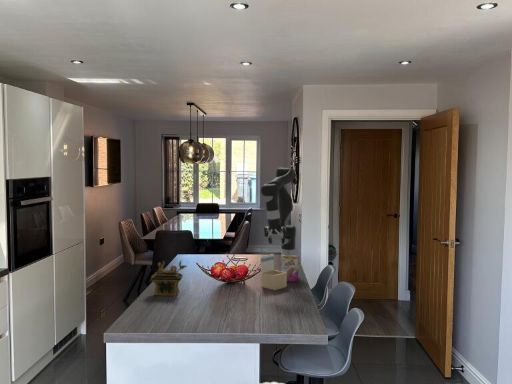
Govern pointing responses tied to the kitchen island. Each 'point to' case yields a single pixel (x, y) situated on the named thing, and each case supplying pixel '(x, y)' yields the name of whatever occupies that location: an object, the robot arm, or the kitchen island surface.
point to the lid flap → (267, 263)
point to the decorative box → (167, 280)
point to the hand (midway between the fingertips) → (277, 243)
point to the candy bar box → (290, 267)
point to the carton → (274, 280)
